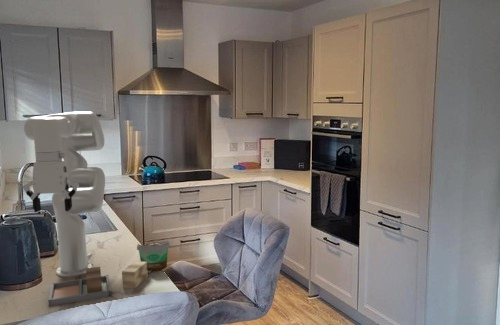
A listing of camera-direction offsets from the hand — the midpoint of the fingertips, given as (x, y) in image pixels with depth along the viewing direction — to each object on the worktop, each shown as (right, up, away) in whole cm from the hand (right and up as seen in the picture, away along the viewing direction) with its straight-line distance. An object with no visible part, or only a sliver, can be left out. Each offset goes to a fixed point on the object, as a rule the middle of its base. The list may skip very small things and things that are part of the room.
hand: (53, 210), depth 144 cm
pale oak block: (+23, -27, +13) cm, 38 cm away
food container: (+28, -25, +25) cm, 45 cm away
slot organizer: (+7, -28, +5) cm, 29 cm away
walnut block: (+11, -27, +7) cm, 30 cm away
